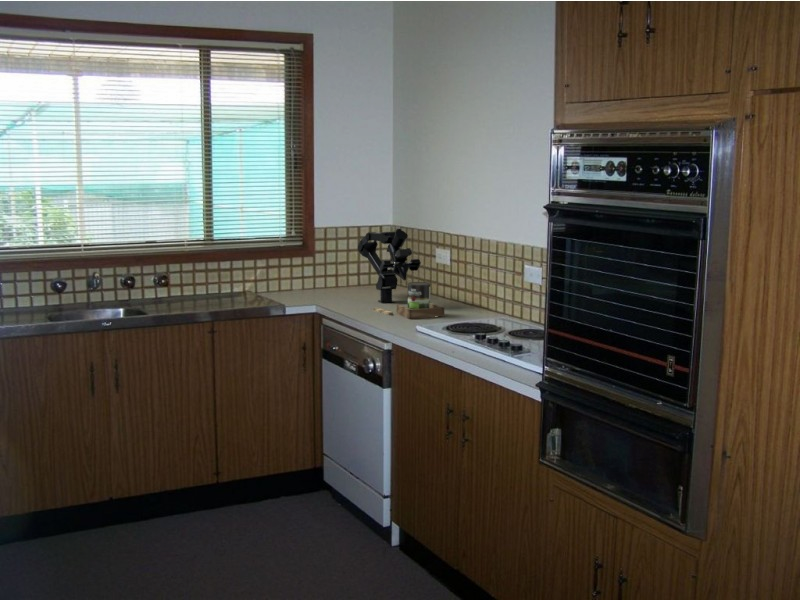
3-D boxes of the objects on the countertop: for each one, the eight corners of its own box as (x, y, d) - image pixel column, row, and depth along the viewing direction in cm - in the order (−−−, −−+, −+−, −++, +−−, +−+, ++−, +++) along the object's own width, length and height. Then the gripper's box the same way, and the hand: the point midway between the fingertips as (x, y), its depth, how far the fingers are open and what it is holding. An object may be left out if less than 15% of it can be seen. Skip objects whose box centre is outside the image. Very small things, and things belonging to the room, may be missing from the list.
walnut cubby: (396, 313, 410) (396, 304, 409) (430, 311, 416) (430, 302, 415) (409, 319, 396) (409, 310, 395) (444, 316, 402) (444, 307, 401)
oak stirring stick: (373, 311, 417) (373, 308, 417) (376, 311, 418) (376, 307, 418) (389, 316, 406) (389, 312, 405) (392, 315, 407) (393, 312, 406)
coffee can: (423, 317, 400) (423, 285, 397) (403, 315, 405) (403, 283, 403) (434, 314, 408) (435, 282, 406) (414, 312, 414) (414, 281, 411)
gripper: (381, 243, 418) (390, 270, 410) (419, 241, 425) (428, 267, 417) (375, 258, 427) (384, 285, 418) (412, 256, 434) (422, 282, 425)
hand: (405, 279), depth 420 cm, fingers closed
